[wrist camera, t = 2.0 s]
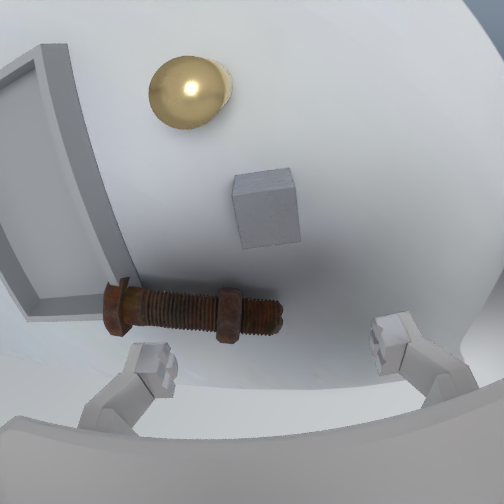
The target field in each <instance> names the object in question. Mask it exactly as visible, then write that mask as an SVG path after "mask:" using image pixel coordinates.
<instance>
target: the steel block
mask: <svg viewBox="0 0 504 504" xmlns="http://www.w3.org/2000/svg"><path fill="white" fill-rule="evenodd" d="M232 199H233V204H234V209H235V214H236V218H237V223H238V228H239V233H240V238H241V243H242V247H243V249H247V248H255V247H262V246H270V245H278V244H285V243H293V242H301V238H300V228H299V218H298V208H297V199H296V190H295V185H294V182H293V178H292V175H291V172H290V169H289V168H284V169H276V170H269V171H262V172H255V173H248V174H241V175H235V181H234V186H233V192H232Z"/></svg>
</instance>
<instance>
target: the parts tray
mask: <svg viewBox="0 0 504 504" xmlns="http://www.w3.org/2000/svg"><path fill="white" fill-rule="evenodd" d="M125 277H130V279H129V282H128V286H127V288H128V287H129V286H134V287H142V288H143V286H142V283H141V281H140V279H139V276H138V274H137V272H136V269H135V267H134V265H133V262H132V260H131V257H130V255H129V252H128V250H127V247H126V245H125V242H124V240H123V237H122V235H121V232H120V229H119V227H118V224H117V222H116V219H115V216H114V213H113V211H112V208H111V205H110V202H109V199H108V197H107V194H106V191H105V188H104V185H103V182H102V179H101V176H100V173H99V170H98V167H97V163H96V160H95V157H94V154H93V150H92V147H91V144H90V140H89V137H88V133H87V129H86V126H85V122H84V118H83V115H82V111H81V107H80V103H79V99H78V95H77V90H76V86H75V82H74V77H73V73H72V68H71V63H70V58H69V53H68V47H67V44H40V45H38V46H36V47H35V48H33V49H31V50H30V51H28V52H26V53H25V54H23V55H22V56H20V57H18V58H17V59H15V60H14V61H12V62H11V63H9V64H8V65H6V66H5V67H4V68H2V69H1V70H0V279H1V281H2V282H3V284H4V286H5V287H6V289H7V291H8V293H9V294H10V296H11V297H12V299H13V301H14V302H15V304H16V305H17V307H18V309H19V310H20V312H21V313H22V315H23V316H24V318H25V319H26V321H27V322H57V321H89V320H103V295H104V291H105V288H106V285H107V283H108V281H109V283H110V285H115V286H119V283H120V279H121V278H125Z"/></svg>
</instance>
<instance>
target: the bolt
mask: <svg viewBox="0 0 504 504" xmlns="http://www.w3.org/2000/svg"><path fill="white" fill-rule="evenodd" d="M129 279H130V277H125V278H121V279H120V283H119V286H115V285H110V283H109V281H108V283H107V285H106V288H105V291H104V295H103V321H104V325H105V327H106V329H107V330H108V332H109V333H110V334H111V335H114V336H120V337H123V336H124V335H125V334H126V333H127V332H128V331H129V330H130V329H131V328H132V325H137V326H147V325H148V326H151V325H152V326H155V325H156V326H157V327H158V326H160V327H164V328H166V327H167V328H170V327H171V328H172V329H173V328H174V327H175V329H177V328H179V329H183V330H185V328H186V329H187V330H189V329H191V331H192V330H193V329H195V331H196V330H197V329H198V330H199V331H200V330H201V329H202V330H203V331H204V330H206V331H207V332H208V331H209V330H210V332H212V331H214V332H216V331H217V332H216V339H217V340H218V341H219V342H220V343H229V344H234V343H235V342H236V341H238V340H239V334H240V332H241V334H242V335H243V333H245V334H246V335H247V333H249V334H250V335H251V333H252V334H253V335H255V334H257V335H259V334H261V335H263V334H264V335H265V336H266V335H267V334H268V335H269V336H270V335H271V334H272V335H273V334H276V333H278V332H279V330H280V329H281V327H282V325H283V319H282V317H281V315H282V313H283V306H282V305H281V304H280V303H279V301H276V302H275V301H274V300H272V301H271V300H269V301H267V300H265V301H263V299H262V300H261V301H260V300H259V299H258V300H257V301H256V300H255V299H254V300H252V299H249V300H248V299H247V298H246V299H245V300H244V298H242V292H241V291H240V290H238V289H233V288H222V289H220V292H219V297H218V298H217V297H216V296H215V297H214V298H213V296H211V297H209V296H208V295H207V296H206V297H205V295H203V296H201V294H200V295H199V296H198V295H197V294H196V295H195V296H194V295H193V294H191V296H190V294H189V293H188V294H187V295H186V293H184V294H183V295H182V293H180V294H178V292H176V294H175V293H174V292H172V294H171V292H170V291H169V292H168V293H167V291H165V292H163V291H161V292H160V291H159V290H157V292H156V290H153V291H152V290H151V289H147V288H142V287H134V286H129V287H128V288H127V286H128V282H129Z"/></svg>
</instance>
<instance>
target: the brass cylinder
mask: <svg viewBox="0 0 504 504" xmlns="http://www.w3.org/2000/svg"><path fill="white" fill-rule="evenodd" d="M232 88H233V84H232V78H231V75H230V73H229V72H228V70H227V69H226V68H225V67H224V66H223V65H222V64H220V63H218V62H216V61H214V60H209V59H204V58H199V57H194V56H182V57H177V58H174V59H172V60H170V61H168V62H166V63H165V64H163V65H162V66H161V67H160V68H159V69H158V70H157V71H156V73H155V74H154V76H153V78H152V80H151V83H150V86H149V102H150V105H151V108H152V110H153V112H154V113H155V115H156V116H157V117H158V118H159V119H160V120H161V121H162V122H163V123H165V124H167V125H168V126H171V127H173V128H177V129H193V128H197V127H200V126H202V125H204V124H206V123H208V122H209V121H210V120H211V119H213V118H214V117H215V115H216V114H217V113H218V112H219V111H220V109H221V108H222V107H223V106H224V105H225V104H226V102H227V101H228V100H229V98H230V96H231V93H232Z"/></svg>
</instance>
